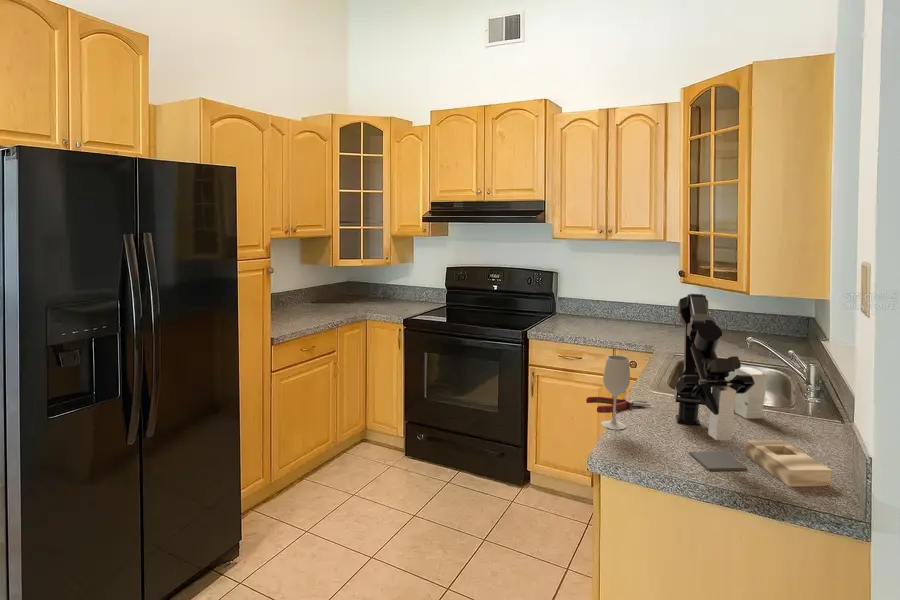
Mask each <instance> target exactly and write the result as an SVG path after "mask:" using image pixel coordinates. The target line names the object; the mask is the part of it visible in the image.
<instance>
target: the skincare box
mask: <svg viewBox="0 0 900 600" xmlns="http://www.w3.org/2000/svg"><path fill="white" fill-rule="evenodd" d="M736 375H750V376H752V377H753V379H754V382H755V384H754V385H753V386H752V387H751V388H750V389H749V390H748V391H747V392H746V393H743V394H736V398H735V413H734V414H737V415H739V416H741V417H742V418H744V419H748V420H749V419H762V416H763V409H764V403H765V396H766V391H767V390H766V389H767V383H768V378H769V376H768V374H767V373H766V372H763V371H761V370H759V369H756V368H754V367H750V366H749V367H747V366H741V367H740V368H739V369H735V372H734V377H735V376H736Z"/></svg>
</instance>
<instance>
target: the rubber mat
mask: <svg viewBox="0 0 900 600" xmlns="http://www.w3.org/2000/svg"><path fill="white" fill-rule="evenodd" d="M688 454H689V455H690V456H691V457H692V458H693V459H694V460H695V461H696V462H698V463H699V464H700V465H701V466H702V467H704V468H705V469H706V470H707V471H747V470H748V467H746V466H745V465H744V464H743V463H741V462H740V461H739V460H737V459H736V458H735V457H734V456H732V455H731V454H730V453H728V452H727V451H689V452H688Z"/></svg>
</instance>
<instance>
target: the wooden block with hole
mask: <svg viewBox="0 0 900 600" xmlns="http://www.w3.org/2000/svg"><path fill="white" fill-rule="evenodd" d="M745 456H746V457H748V458H749V459H750V460H752V461H754V462H755V463H756V464H757V465H759V466H761V467H762V468H763V469H764V470H766V471H767V472H768V473H770V474H771V475H773V476H774V477H775V478H777V479H778V480H780V481H781V482H783V483H784V484H785V485H786V486H788V487H830V486H831V480H832V472H833V470H832V469H831V468H829V467H828V466H826V465H825V464H823V463H821V462H819V461H818V460H817V459H815V458H813V457H812V456H809V455H808V454H806V453H805V452H803V451H802V450H800V449H799V448H796V447H795V446H794V445H791V444H790V443H788V442H787V441H785V440H784V439H782V440H781V439H780V440H778V439H777V440H774V439H773V440H758V439H757V440H746V449H745ZM827 485H828V486H827ZM829 485H830V486H829Z"/></svg>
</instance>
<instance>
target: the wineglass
mask: <svg viewBox="0 0 900 600" xmlns="http://www.w3.org/2000/svg"><path fill="white" fill-rule="evenodd" d="M602 377H603V378H602V381H603V382H602V383H603V385H604V387H605V389H606V390H607V391H608V392H609V393H610V394H611V395H612V398H614V405H613V404H612V405H613V412H612V419H610V420H604V421H602V422H601V423H600V426H602V427H603V428H605V429H607V430H613V431H621V430H620V429H623V430H625V429H626V428H627V426H626V424H625V423H623V422H620V421H618V420H617V419H616V412H617V411H616V400H617V399H618V398H619V397H618V396H620V395H621V394H623V393H624V392H626V390H627V389H628V387H629V386H630V381H631V370H630V362H629V357H627V356H623V355H619V354H618V355H617V354H615V355H613V354H612V355H607V357H606V362H605V365H604V370H603V375H602ZM609 424H610V425H609ZM608 425H609V426H608ZM607 426H608V428H609V429H608V428H607ZM624 428H625V429H624Z"/></svg>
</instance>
